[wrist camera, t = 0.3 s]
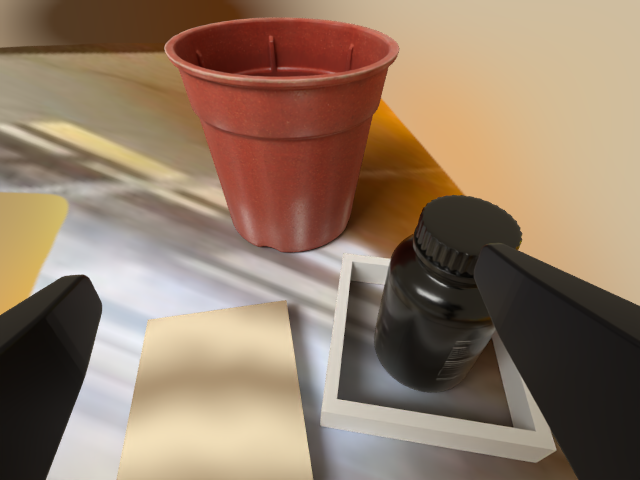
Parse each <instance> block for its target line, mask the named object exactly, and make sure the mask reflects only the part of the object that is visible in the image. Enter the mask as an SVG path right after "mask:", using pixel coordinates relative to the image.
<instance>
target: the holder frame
mask: <svg viewBox="0 0 640 480" xmlns="http://www.w3.org/2000/svg"><path fill="white" fill-rule="evenodd" d="M389 263H390V259H387V258H379V257H371V256H362V255H354V254H346V253H343V260H342V267H341V274H340V281H339V288H338V295H337V302H336V309H335V317H334V324H333V331H332V338H331V345H330V352H329V359H328V366H327V374H326V381H325V388H324V395H323V402H322V409H321V422H320V426H322V427H328V428H334V429H340V430H346V431H352V432H357V433H363V434H369V435H375V436H381V437H387V438H393V439H398V440H404V441H410V442H416V443H422V444H428V445H434V446H440V447H445V448H451V449H457V450H463V451H469V452H475V453H481V454H486V455H492V456H498V457H504V458H510V459H516V460H522V461H527V462H533V463H537V462H538V461H540V460H542V459H543V458H545V457H547V456H548V455H550V454H552V453H553V452H555V451H556V447H555V443H554V440H553V437H552V434H551V430H550V428H549V426H548V424H547V422H546V420H545V419H544V417H543V415H542V413H541V411H540V410H539V408H538V406H537V404H536V402H535V401H534V399H533V397H532V395H531V393H530V391H529V390H528V388H527V386H526V384H525V382H524V381H523V379H522V377H521V375H520V373H519V372H518V370H517V368H516V366H515V364H514V363H513V361H512V359H511V357H510V355H509V354H508V352H507V350H506V348H505V346H504V345H503V343H502V341H501V339H500V337H499V335H498V333H497V331H495V333H494V334H493V336H492V340H493V344H494V348H495V353H496V357H497V361H498V365H499V369H500V373H501V377H502V382H503V386H504V390H505V394H506V398H507V402H508V406H509V411H510V415H511V419H512V423H513V427H514V428H512V427H506V426H500V425H493V424H487V423H481V422H475V421H469V420H463V419H456V418H450V417H444V416H438V415H432V414H426V413H420V412H413V411H407V410H401V409H395V408H389V407H383V406H376V405H370V404H364V403H358V402H352V401H346V400H340V399H337V394H338V385H339V376H340V367H341V358H342V349H343V340H344V331H345V322H346V313H347V304H348V295H349V286H350V281H358V282H365V283H373V284H381V285H385V281H386V276H387V271H388V267H389Z"/></svg>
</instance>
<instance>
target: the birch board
mask: <svg viewBox="0 0 640 480" xmlns="http://www.w3.org/2000/svg"><path fill="white" fill-rule="evenodd" d="M117 480H313V475H312V469H311V462H310V455H309V449H308V442H307V435H306V429H305V422H304V415H303V409H302V402H301V395H300V389H299V382H298V375H297V368H296V362H295V355H294V348H293V342H292V335H291V328H290V322H289V315H288V308H287V302H286V300H285V301H278V302H271V303H264V304H257V305H249V306H242V307H235V308H228V309H221V310H214V311H207V312H200V313H193V314H186V315H179V316H172V317H165V318H158V319H151V320H148V322H147V327H146V332H145V338H144V343H143V348H142V353H141V358H140V363H139V368H138V373H137V378H136V383H135V389H134V394H133V399H132V404H131V409H130V414H129V419H128V424H127V429H126V434H125V439H124V445H123V450H122V455H121V460H120V465H119V470H118V475H117Z"/></svg>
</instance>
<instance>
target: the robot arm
mask: <svg viewBox="0 0 640 480" xmlns="http://www.w3.org/2000/svg"><path fill="white" fill-rule="evenodd" d="M474 279H475V282H476V284H477V287H478V289H479V291H480V294H481V296H482V299H483V301H484V303H485V306H486V308H487V310H488V313H489V315H490V317H491V320H492V322H493V324H494V327H495V329H496V331H497V333H498V335H499V337H500V339H501V341H502V343H503V345H504V346H505V348H506V350H507V352H508V354H509V355H510V357H511V359H512V361H513V363H514V364H515V366H516V368H517V370H518V372H519V373H520V375H521V377H522V379H523V381H524V382H525V384H526V386H527V388H528V390H529V391H530V393H531V395H532V397H533V399H534V401H535V402H536V404H537V406H538V408H539V410H540V411H541V413H542V415H543V417H544V419H545V420H546V422H547V424H548V426H549V428H550V429H551V431H552V433H553V435H554V437H555V438H556V440H557V442H558V444H559V446H560V447H561V449H562V451H563V453H564V455H565V456H566V458H567V460H568V462H569V464H570V465H571V467H572V469H573V471H574V473H575V474H576V476H577V478H578V480H640V306H638V305H636V304H634V303H632V302H630V301H628V300H625V299H623V298H621V297H619V296H617V295H614V294H612V293H610V292H608V291H606V290H603V289H601V288H599V287H597V286H594V285H593V284H590V283H588V282H586V281H584V280H581V279H579V278H577V277H575V276H573V275H571V274H568V273H566V272H564V271H562V270H560V269H558V268H555V267H553V266H551V265H549V264H547V263H544V262H542V261H540V260H538V259H536V258H533V257H531V256H529V255H527V254H525V253H523V252H520V251H518V250H516V249H514V248H512V247H509V246H507V245H505V244H502V243H494V244H486V245H484V246H483V247H482V249H481V251H480V254H479V257H478V260H477V263H476V266H475V269H474ZM101 314H102V303H101V300H100V298H99V296H98V294H97V292H96V290H95V288H94V286H93V284H92V282H91V281H90V279H89V278H88V277H87V276H86V275H70V276H64V277H61V278H60V279H58V280H56V281H55V282H53V283H51V284H50V285H48V286H47V287H45V288H43V289H42V290H40V291H38V292H37V293H35V294H34V295H32V296H30V297H29V298H27V299H26V300H24V301H22V302H21V303H19V304H18V305H16V306H14V307H13V308H11V309H9V310H8V311H6V312H5V313H3V314H1V315H0V480H46V478H47V475H48V473H49V470H50V467H51V465H52V462H53V460H54V457H55V454H56V452H57V449H58V447H59V444H60V441H61V439H62V436H63V434H64V431H65V428H66V426H67V423H68V420H69V418H70V415H71V413H72V410H73V407H74V405H75V402H76V400H77V397H78V394H79V392H80V389H81V386H82V384H83V381H84V378H85V375H86V371H87V368H88V364H89V361H90V357H91V353H92V349H93V345H94V341H95V337H96V333H97V329H98V326H99V322H100V318H101Z"/></svg>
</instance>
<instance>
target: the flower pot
mask: <svg viewBox="0 0 640 480" xmlns="http://www.w3.org/2000/svg"><path fill="white" fill-rule="evenodd" d="M164 49H165V52H166V54H167V56H168V58H169V60H170V61H171V62H172V63H173V64H174V65H175V66H176V67H177V68H178V69H179V71H180V74H181V77H182V80H183V83H184V86H185V89H186V92H187V95H188V98H189V101H190V104H191V106H192V109H193V111H194V112H195V113H196V114H197V115H198V117H199V118H200V121H201V124H202V127H203V130H204V133H205V136H206V139H207V143H208V146H209V149H210V152H211V155H212V158H213V161H214V164H215V167H216V170H217V174H218V177H219V180H220V183H221V186H222V189H223V192H224V196H225V199H226V202H227V205H228V208H229V211H230V215H231V218H232V221H233V224H234V226H235V228H236V230H237V231H238V233H239V234H240V235H241V236H242V237H243V238H244V239H246V240H247V241H248V242H250V243H252V244H254V245H256V246H258V247H262V246H268V247H272V248H275V249H277V250H279V251H280V252H301V251H307V250H311V249H314V248H317V247H320V246H323V245H325V244H327V243H329V242H331V241H332V240H334V239H335V238H337V237H338V236H339V235H340V234H341V233H342V232H343V231H344V230H345V228H346V225H347V223H348V220H349V218H350V214H351V210H352V205H353V200H354V196H355V191H356V187H357V182H358V177H359V173H360V168H361V164H362V160H363V156H364V151H365V147H366V142H367V138H368V133H369V129H370V125H371V120H372V116H373V114H374V113H375V111H376V110H377V108H378V106H379V103H380V99H381V95H382V91H383V86H384V82H385V79H386V75H387V71H388V67H389V66H390V65H391V64H392V63H393V62H394V60H395V59H396V57H397V55H398V53H399V46H398V44H397V43H396V42H395V41H394V40H393V39H392V38H390V37H389V36H387V35H385V34H383V33H381V32H379V31H376V30H373V29H370V28H367V27H362V26H359V25H354V24H349V23H343V22H337V21H329V20H320V19H305V18H253V19H252V18H251V19H241V20H232V21H225V22H219V23H213V24H208V25H204V26H200V27H196V28H192V29H189V30H186V31H184V32H181V33H180V34H178V35H176V36H174V37H172V38H171V39H170V40H169V41H168V42H167V43H166V45H165V48H164Z"/></svg>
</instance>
